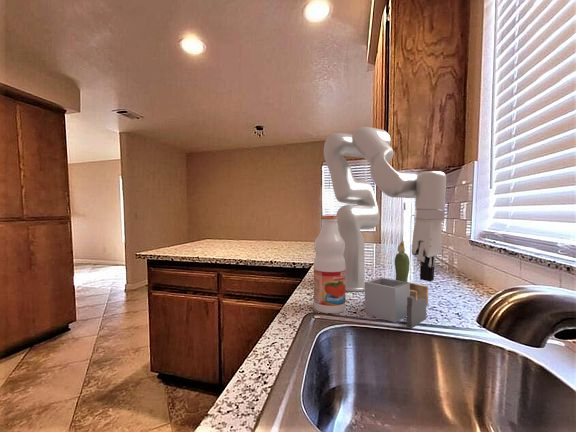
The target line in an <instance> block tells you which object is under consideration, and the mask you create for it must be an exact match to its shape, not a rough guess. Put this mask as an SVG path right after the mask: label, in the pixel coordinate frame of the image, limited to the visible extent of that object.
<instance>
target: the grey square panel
mask: <svg viewBox="0 0 576 432" xmlns="http://www.w3.org/2000/svg"><path fill="white" fill-rule="evenodd" d="M426 319H427V306H426V298H420V299H418V300H416V301H415V297H413V296H409V297H407V316H406V328H409V329H413V328H414V327H416V326H418V325H419V324H420V323H421V322H423V321H425V320H426Z"/></svg>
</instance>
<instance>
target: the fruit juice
mask: <svg viewBox="0 0 576 432" xmlns="http://www.w3.org/2000/svg"><path fill="white" fill-rule="evenodd" d="M320 218H321V222H322V223H321V228H320V231H319V234H318V235H317V237H316V238H315V240H314V245H313V247H314V252H315V256H314V259H313V307H314V309H315V311H317V312H318V313H323V314H328V313H332V314H331V315H333V314H339V313H343V312H345V309H346V291H345V270H346V266H345V259H344V256H343V253H344V250H345V242H344V240H343V238H342V237H341V235H340V233H339V230H338V226H337V221H338V216H337V215H336V214H335V215H331V214H328V215H326V214H325V215H321V217H320Z"/></svg>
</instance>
